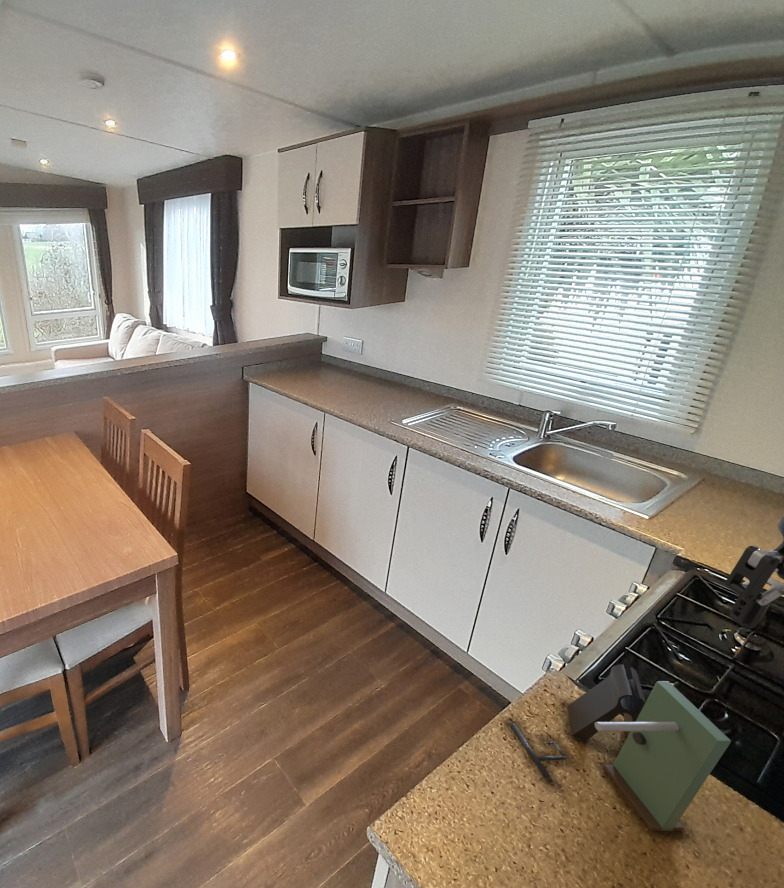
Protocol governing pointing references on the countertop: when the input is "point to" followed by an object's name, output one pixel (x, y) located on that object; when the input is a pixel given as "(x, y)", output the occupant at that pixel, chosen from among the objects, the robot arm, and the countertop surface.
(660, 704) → the door panel
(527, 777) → the countertop surface
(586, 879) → the countertop surface
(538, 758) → the hanger
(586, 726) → the phone stand
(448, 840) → the countertop surface
